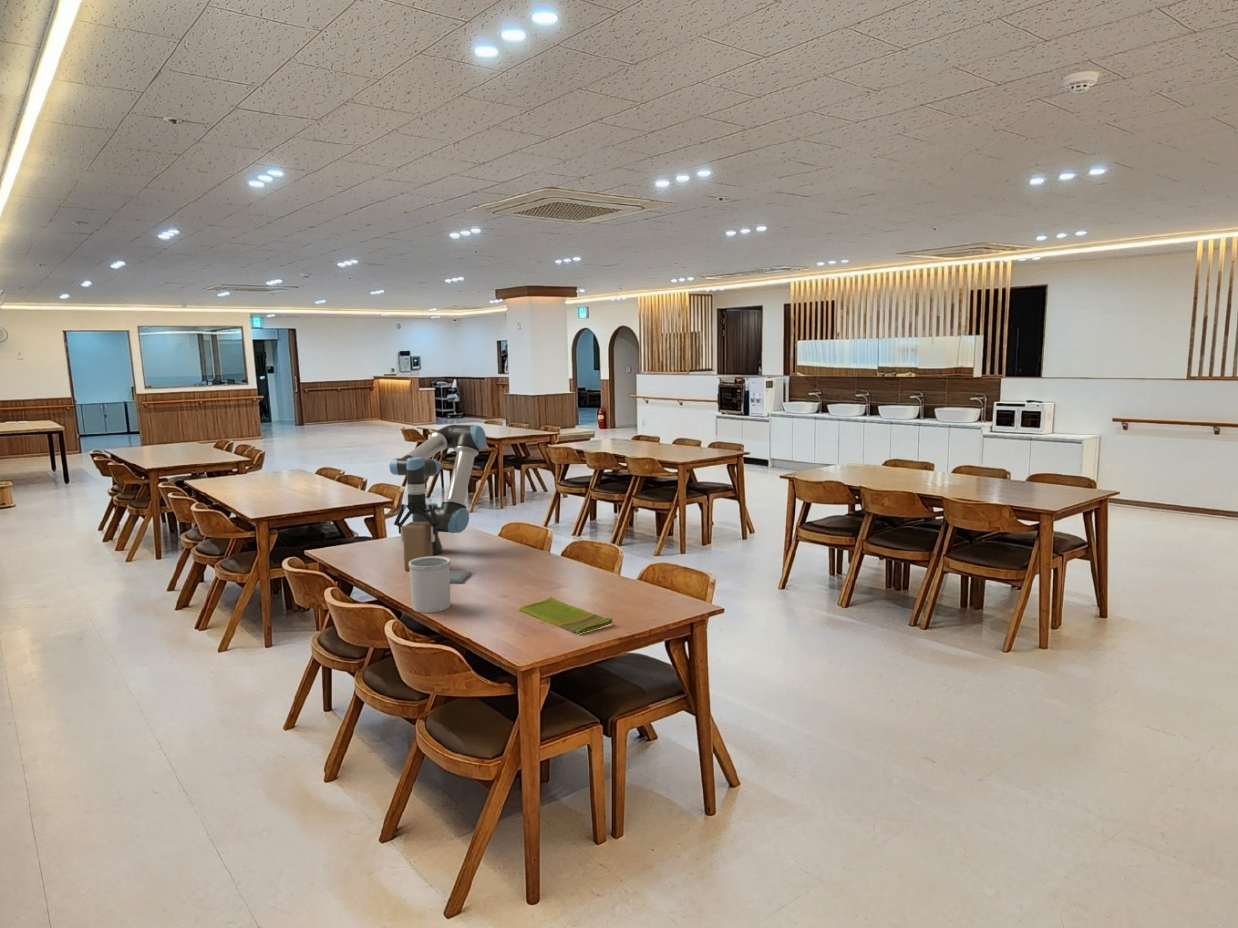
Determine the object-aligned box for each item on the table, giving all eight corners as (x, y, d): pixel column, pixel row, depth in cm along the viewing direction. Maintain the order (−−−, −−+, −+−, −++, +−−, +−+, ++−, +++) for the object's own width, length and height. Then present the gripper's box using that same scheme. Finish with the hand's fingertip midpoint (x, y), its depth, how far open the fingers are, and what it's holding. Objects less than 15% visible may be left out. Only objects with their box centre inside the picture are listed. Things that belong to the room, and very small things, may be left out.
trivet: (434, 572, 339) (434, 569, 339) (471, 573, 338) (471, 570, 338) (423, 582, 323) (422, 579, 323) (461, 583, 322) (461, 580, 322)
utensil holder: (430, 616, 281) (429, 568, 279) (401, 609, 289) (399, 562, 286) (459, 605, 293) (458, 559, 291) (431, 599, 301) (429, 554, 299)
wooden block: (433, 565, 351) (432, 521, 349) (426, 571, 341) (424, 526, 339) (412, 565, 352) (410, 521, 350) (403, 571, 342) (402, 525, 340)
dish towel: (579, 637, 260) (579, 627, 260) (518, 612, 287) (517, 603, 287) (614, 627, 270) (614, 617, 270) (552, 603, 297) (552, 595, 297)
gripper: (385, 494, 340) (387, 542, 342) (442, 494, 338) (443, 543, 341) (391, 491, 347) (393, 538, 350) (447, 491, 346) (448, 539, 348)
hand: (418, 541), depth 345 cm, fingers open, 13 cm apart
